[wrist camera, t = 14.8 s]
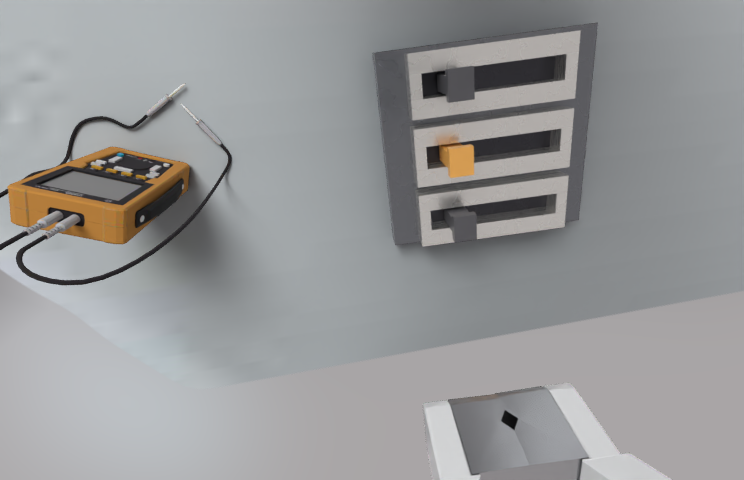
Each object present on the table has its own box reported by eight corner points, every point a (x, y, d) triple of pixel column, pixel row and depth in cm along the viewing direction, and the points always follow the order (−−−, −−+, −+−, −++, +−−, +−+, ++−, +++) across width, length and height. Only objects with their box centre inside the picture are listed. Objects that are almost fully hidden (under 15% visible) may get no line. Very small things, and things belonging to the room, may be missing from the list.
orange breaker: (459, 136, 37) (473, 146, 33) (459, 161, 38) (474, 174, 34) (437, 139, 37) (449, 149, 33) (438, 164, 38) (450, 178, 34)
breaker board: (584, 24, 36) (612, 20, 32) (568, 213, 43) (589, 227, 40) (372, 53, 36) (375, 52, 32) (393, 237, 43) (397, 253, 39)
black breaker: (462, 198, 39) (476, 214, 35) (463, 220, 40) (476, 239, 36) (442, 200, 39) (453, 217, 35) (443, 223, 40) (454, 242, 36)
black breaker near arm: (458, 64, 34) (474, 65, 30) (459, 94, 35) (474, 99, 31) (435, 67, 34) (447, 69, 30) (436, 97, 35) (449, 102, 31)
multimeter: (240, 96, 37) (137, 134, 18) (227, 198, 40) (131, 314, 22) (64, 50, 34) (-255, 43, 16) (68, 163, 38) (-185, 261, 20)
